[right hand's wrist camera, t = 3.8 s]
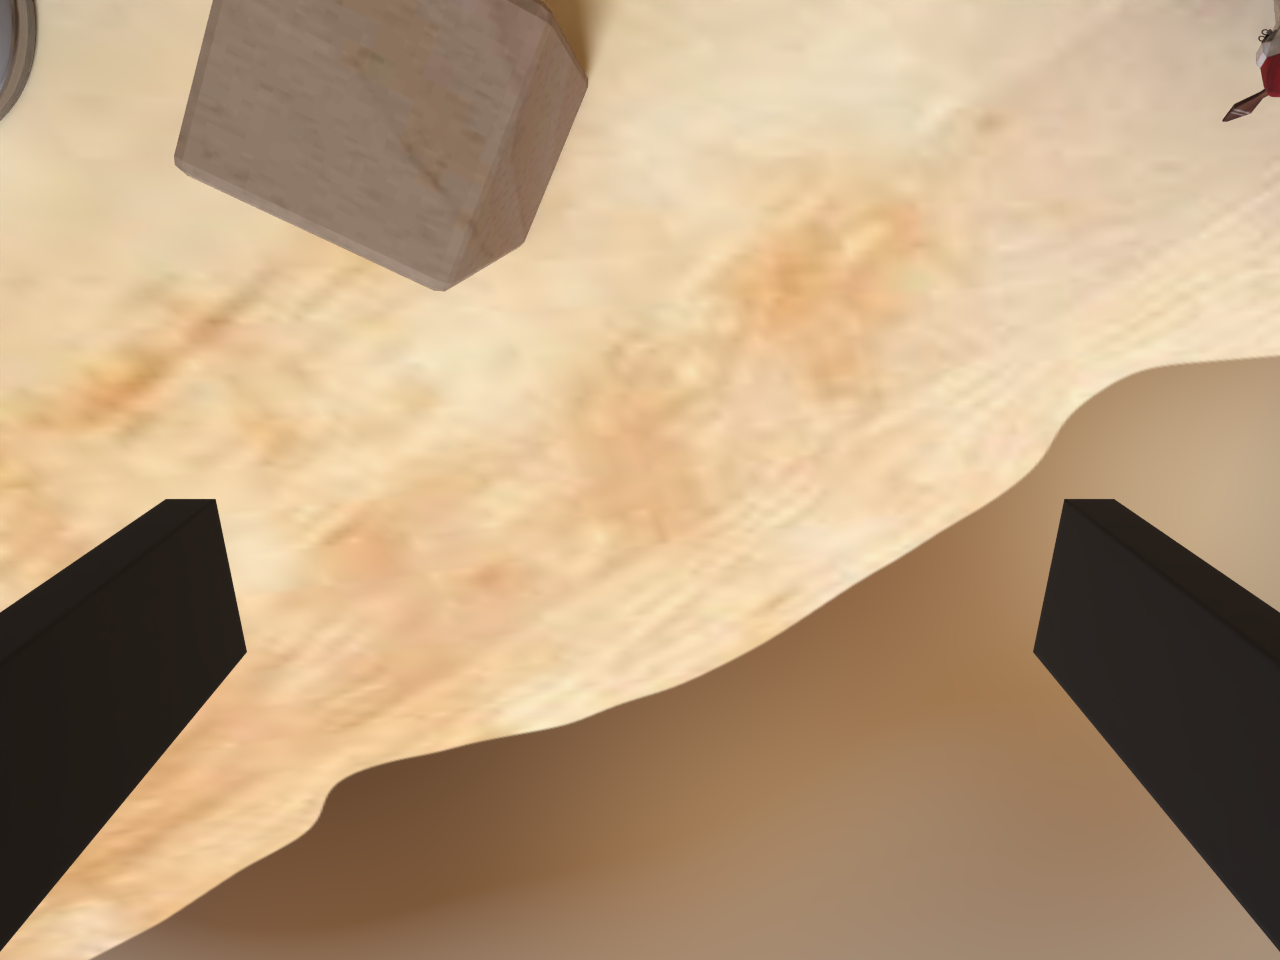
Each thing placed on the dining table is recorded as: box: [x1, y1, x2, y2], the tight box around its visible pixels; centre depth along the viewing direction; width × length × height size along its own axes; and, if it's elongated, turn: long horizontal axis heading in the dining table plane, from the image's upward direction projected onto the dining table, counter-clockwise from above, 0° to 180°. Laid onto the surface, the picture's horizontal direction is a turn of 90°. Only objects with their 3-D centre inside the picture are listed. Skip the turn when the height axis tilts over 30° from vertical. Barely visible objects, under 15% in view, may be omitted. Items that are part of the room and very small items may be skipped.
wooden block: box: [174, 0, 588, 291], centre depth 35 cm, size 10×10×20 cm
